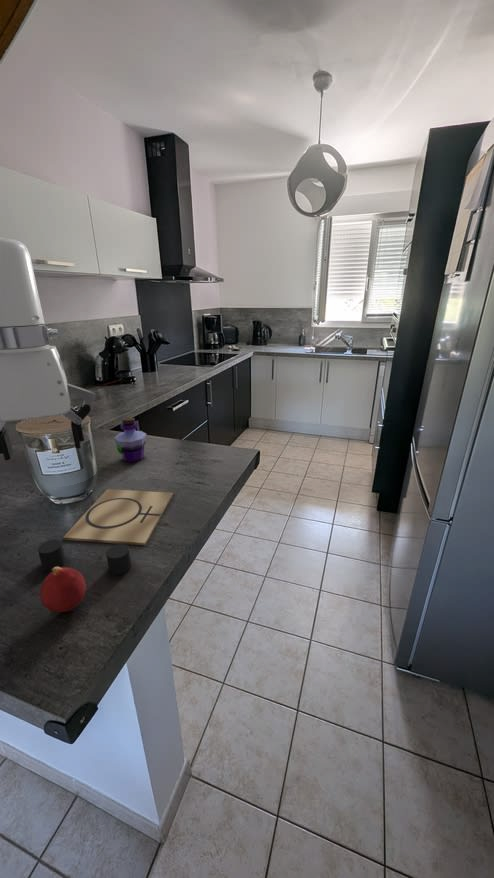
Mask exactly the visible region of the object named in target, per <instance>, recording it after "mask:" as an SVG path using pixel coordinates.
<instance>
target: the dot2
mask: <svg viewBox="0 0 494 878" xmlns="http://www.w3.org/2000/svg"><path fill="white" fill-rule="evenodd" d="M129 547H130V546H128V544H114V545H112V546H110V547H109V548H108V549H107V550H106V553H105V555H106V560H107V565H108V572H109V573H110V574H111V575H112V576H122V575H124V574H127V573H128V572H129V571H130V570H131V569H132V567H133V566H132V558H131V552H130V548H129Z"/></svg>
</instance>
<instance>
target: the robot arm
mask: <svg viewBox="0 0 494 878" xmlns="http://www.w3.org/2000/svg"><path fill="white" fill-rule="evenodd" d="M37 285H38V284H37V281H36V276H35V271H34V265H33V261H32V257H31V253H30V251H29V249H28V247H27V246H26V245H25V244H24V243H23V242H21V241H19V240H17V239H14V238H8V237H1V236H0V455H1V454H2V455H3V459H4V461H10V460H11V459H12V458H13V454H14V450H13V446H12V442H11V439H10V436H9V432H8V429H6V428H4V427H5V425H6V423H7V422H16V421H17V422H18V421H19V422H20V421H27V420H34V419H41V418H42V419H43V418H50V417H57V416H62V415H63V416H64V417H66V418H67V420H69V421H70V427H71V432H72V433H71V434H72V438H73V441H74V447H75V449H77V450H79V449H81V448H82V446H81V442H84V441H85V436H84V431H83V425H82V423H83V421H84V420H85V419H86V417H87V416H89V414H90V412H91V411H92V407H93V404H94V402H95V400H96V393H95V392H94V391H92V390H89V389H85V388H83V387H79V386H78V385H77V386H76V385H73V384H70V383H68V379H67V376H66V372H65V368H64V365H63V361H62V359H61V356H60V354H59V351H58V348H57V346H56V345H50V342H51V340H54V339H59V338H60V336H59V331H58V328H51V327H48V326H47V325H46V323H45V318H44V313H43V309H42V303H41V299H40V295H39V294H40V293H39V290H38V286H37ZM71 395H72V396H74V397H75V396H76V397H78V398H81V399H83V403H82V405H81V406H80V407H79V408H78V409H76V408H74V407H73V406H72V405H71V404H72V397H71Z"/></svg>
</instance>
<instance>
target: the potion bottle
mask: <svg viewBox="0 0 494 878" xmlns="http://www.w3.org/2000/svg"><path fill="white" fill-rule="evenodd" d="M119 425H120V429H121V430H122V431H123V432H120V433H118V434H116V435H115V436H114V437H113V439H114V441H115V444H116V450H117V451H118V454H120V455H121V456H122V459H123V461H124V462H125V463H129V464H130V463H131V464H135V463H138V462H140V461H142V460H144V457H145V456H144V453H145V445H146V442H147V435H148V434H147V433H146V432H144V431H143V430H136V429H137V428H139V426H138V422H137V421H136V420H135V417H129V416H128V417H123V418H122V419H121V423H120V424H119Z"/></svg>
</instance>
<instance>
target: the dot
mask: <svg viewBox="0 0 494 878" xmlns="http://www.w3.org/2000/svg"><path fill="white" fill-rule="evenodd" d="M37 552H38V557H39V559H40V562H41V566H42V569H43V570H46V571H52V569H53V568H54V567H60V568H61V567H62V566H63V565H64V564H65V563H66V561H67V560H66V554H65V551H64V547H63V543H62V540H60V539H54V538H53V539H49V540H46V541H44V542H42V543H41V544H40V545H39V546H38V548H37Z"/></svg>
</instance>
